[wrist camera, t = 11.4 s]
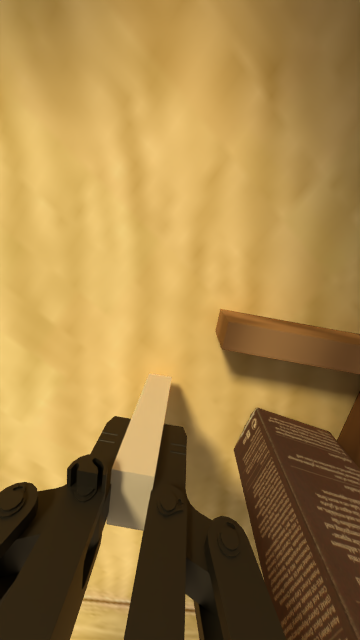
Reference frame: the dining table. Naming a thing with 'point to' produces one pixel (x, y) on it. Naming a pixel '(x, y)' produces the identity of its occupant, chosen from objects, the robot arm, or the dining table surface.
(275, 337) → the corner fence
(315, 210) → the dining table surface
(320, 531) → the box
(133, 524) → the robot arm
